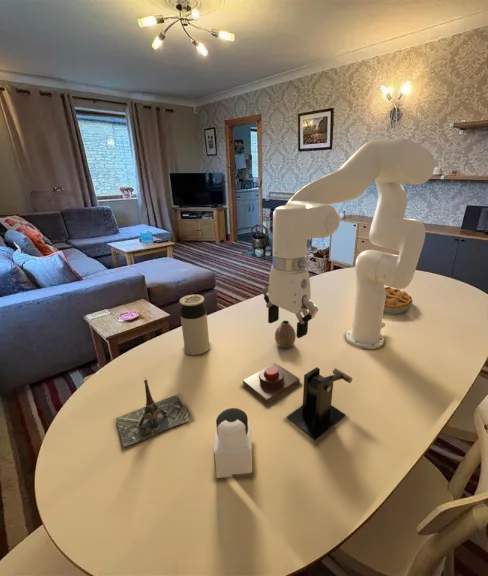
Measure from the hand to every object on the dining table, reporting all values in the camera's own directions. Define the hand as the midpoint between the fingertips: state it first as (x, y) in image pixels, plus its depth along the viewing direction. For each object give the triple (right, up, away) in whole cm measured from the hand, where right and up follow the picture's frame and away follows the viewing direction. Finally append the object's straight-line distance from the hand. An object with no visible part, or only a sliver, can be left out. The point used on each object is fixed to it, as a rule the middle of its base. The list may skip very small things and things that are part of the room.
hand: (287, 328), depth 76 cm
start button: (-4, -14, +7) cm, 16 cm away
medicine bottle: (-11, -26, -12) cm, 31 cm away
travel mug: (-28, -10, +26) cm, 40 cm away
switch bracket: (+7, -22, -2) cm, 23 cm away
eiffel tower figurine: (-32, -22, -2) cm, 39 cm away
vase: (+1, -9, +28) cm, 29 cm away
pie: (+45, +3, +57) cm, 72 cm away
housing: (-4, -17, +9) cm, 20 cm away
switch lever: (+10, -13, -3) cm, 16 cm away
